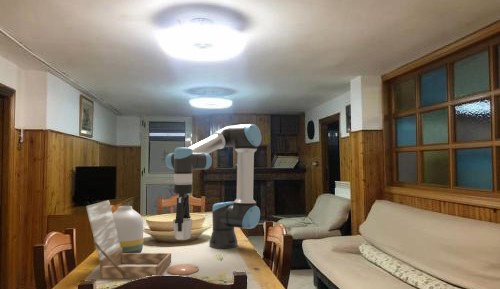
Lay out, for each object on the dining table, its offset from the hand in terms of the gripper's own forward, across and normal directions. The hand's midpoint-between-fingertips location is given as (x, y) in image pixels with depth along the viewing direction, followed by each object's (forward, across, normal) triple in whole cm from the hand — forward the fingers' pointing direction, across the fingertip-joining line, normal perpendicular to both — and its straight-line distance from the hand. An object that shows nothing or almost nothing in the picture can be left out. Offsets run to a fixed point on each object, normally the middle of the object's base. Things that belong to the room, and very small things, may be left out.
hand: (182, 236), depth 159 cm
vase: (+14, -23, -32) cm, 42 cm away
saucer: (+14, 0, 0) cm, 14 cm away
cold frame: (+14, 0, -19) cm, 24 cm away
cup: (+1, 0, 0) cm, 1 cm away
